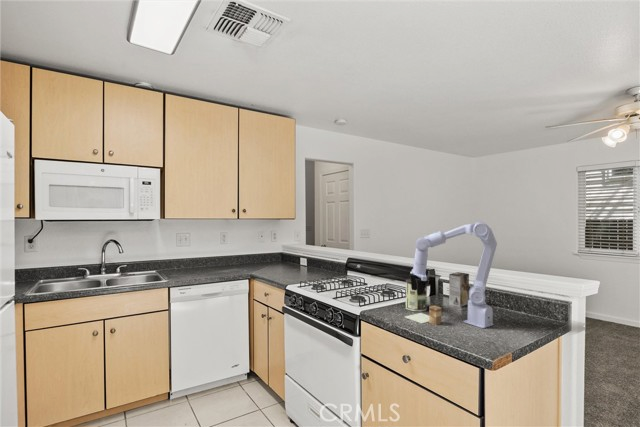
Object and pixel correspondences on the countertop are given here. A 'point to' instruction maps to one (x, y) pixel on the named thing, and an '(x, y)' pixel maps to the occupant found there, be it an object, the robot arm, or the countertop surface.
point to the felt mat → (419, 317)
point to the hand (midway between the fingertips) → (416, 292)
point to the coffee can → (415, 298)
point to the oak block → (435, 315)
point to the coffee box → (458, 289)
